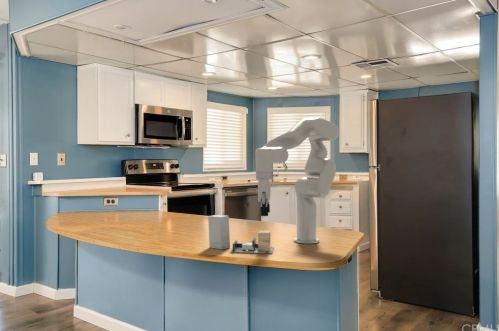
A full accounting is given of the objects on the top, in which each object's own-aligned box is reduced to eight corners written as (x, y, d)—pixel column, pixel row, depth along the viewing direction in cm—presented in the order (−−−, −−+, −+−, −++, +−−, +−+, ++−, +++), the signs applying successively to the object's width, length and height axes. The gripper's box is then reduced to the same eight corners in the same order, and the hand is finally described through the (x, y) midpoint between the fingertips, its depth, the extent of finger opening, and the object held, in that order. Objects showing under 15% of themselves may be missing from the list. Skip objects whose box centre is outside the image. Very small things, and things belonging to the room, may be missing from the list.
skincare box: (230, 248, 195) (230, 215, 195) (221, 250, 190) (221, 217, 190) (217, 245, 200) (217, 214, 200) (207, 247, 196) (207, 215, 196)
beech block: (259, 248, 192) (259, 230, 192) (270, 248, 191) (270, 230, 191) (258, 250, 187) (258, 232, 187) (269, 251, 186) (269, 232, 186)
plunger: (244, 246, 194) (244, 237, 193) (256, 247, 193) (256, 237, 193) (241, 251, 184) (241, 241, 184) (253, 251, 184) (253, 241, 184)
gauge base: (234, 247, 197) (234, 239, 197) (273, 248, 194) (273, 240, 194) (230, 253, 185) (230, 244, 185) (272, 254, 183) (272, 246, 182)
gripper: (257, 174, 198) (258, 211, 198) (253, 177, 180) (254, 217, 181) (274, 174, 197) (275, 211, 197) (271, 177, 179) (272, 217, 180)
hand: (265, 214), depth 189 cm, fingers open, 9 cm apart
